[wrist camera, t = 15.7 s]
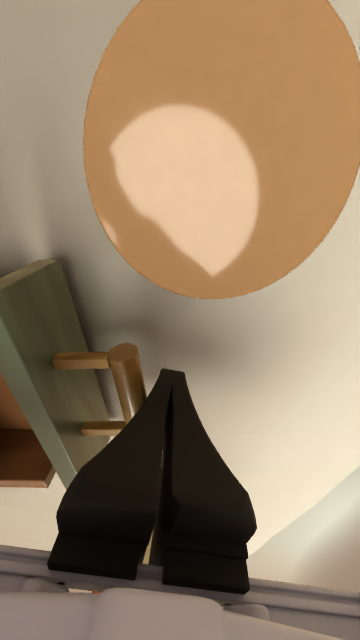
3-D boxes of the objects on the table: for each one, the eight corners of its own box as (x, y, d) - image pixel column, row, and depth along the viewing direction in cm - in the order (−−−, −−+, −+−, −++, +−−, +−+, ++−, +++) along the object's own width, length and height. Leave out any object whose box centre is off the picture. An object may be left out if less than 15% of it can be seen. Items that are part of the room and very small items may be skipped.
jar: (146, 126, 10) (41, -19, 3) (256, 115, 10) (422, -74, 3) (158, 238, 12) (112, 304, 5) (248, 233, 12) (327, 295, 5)
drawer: (138, 254, 12) (109, 290, 8) (164, 428, 18) (156, 500, 14) (-158, 270, 13) (-325, 309, 9) (-35, 428, 19) (-98, 494, 15)
